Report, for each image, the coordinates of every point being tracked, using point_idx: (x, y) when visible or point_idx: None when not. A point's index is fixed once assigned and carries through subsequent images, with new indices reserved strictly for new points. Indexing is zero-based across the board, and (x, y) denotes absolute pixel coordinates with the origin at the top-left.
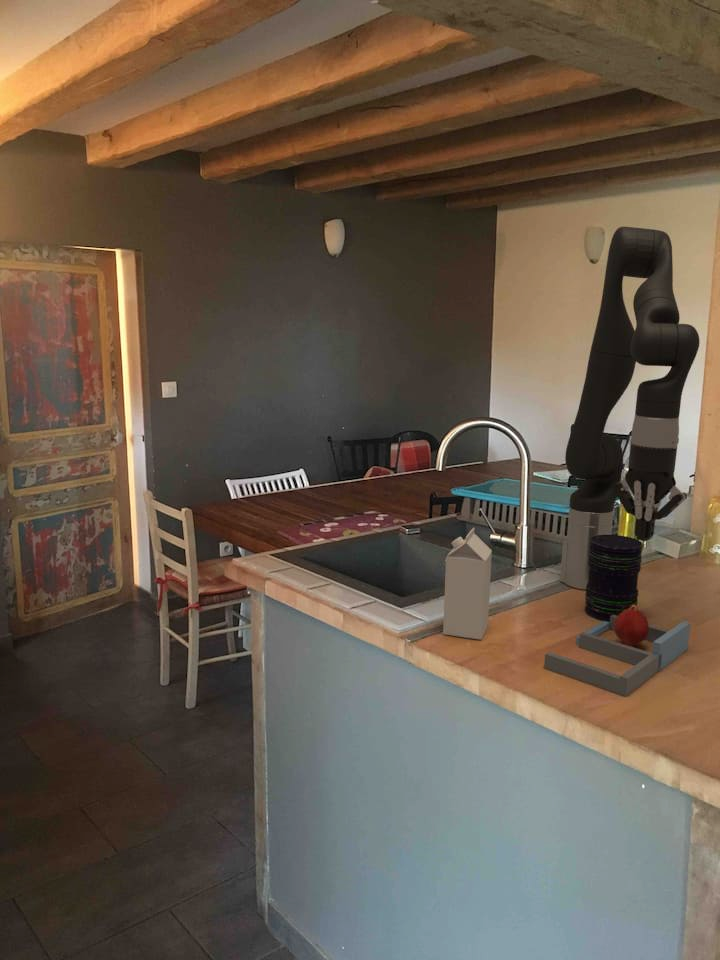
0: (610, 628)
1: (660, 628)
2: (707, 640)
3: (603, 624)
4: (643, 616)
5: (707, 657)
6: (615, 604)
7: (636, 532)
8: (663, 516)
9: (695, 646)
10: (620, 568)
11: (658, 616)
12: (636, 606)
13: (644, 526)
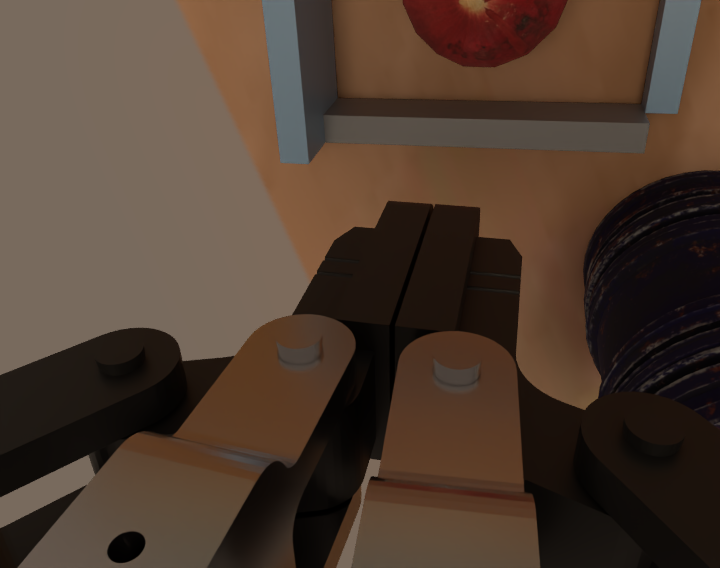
0: (635, 105)
1: (411, 137)
2: (305, 245)
3: (665, 70)
4: (424, 4)
5: (236, 99)
6: (658, 224)
7: (498, 261)
8: (49, 367)
9: (308, 168)
10: (683, 336)
11: (516, 347)
12: (459, 1)
13: (376, 280)
